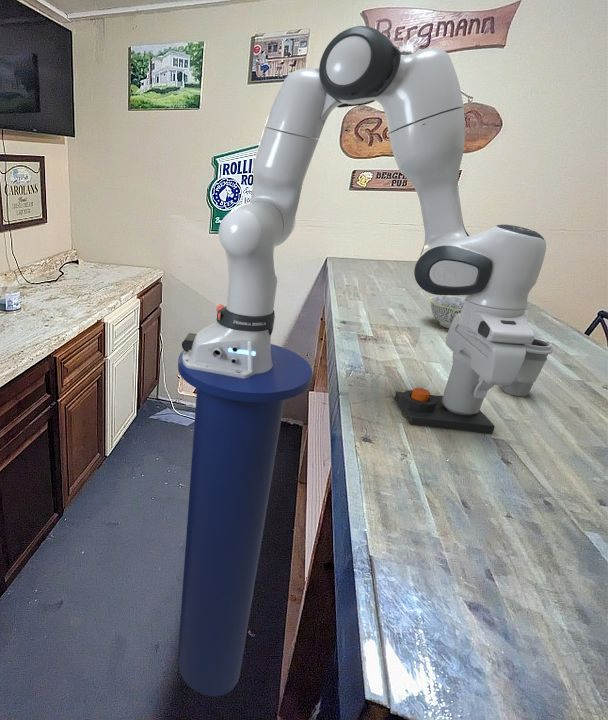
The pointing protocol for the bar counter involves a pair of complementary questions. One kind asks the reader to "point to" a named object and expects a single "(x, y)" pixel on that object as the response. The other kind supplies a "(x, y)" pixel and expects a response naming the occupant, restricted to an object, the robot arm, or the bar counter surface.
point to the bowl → (446, 308)
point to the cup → (530, 367)
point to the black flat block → (440, 414)
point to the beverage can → (461, 387)
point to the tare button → (420, 394)
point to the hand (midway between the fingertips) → (466, 385)
